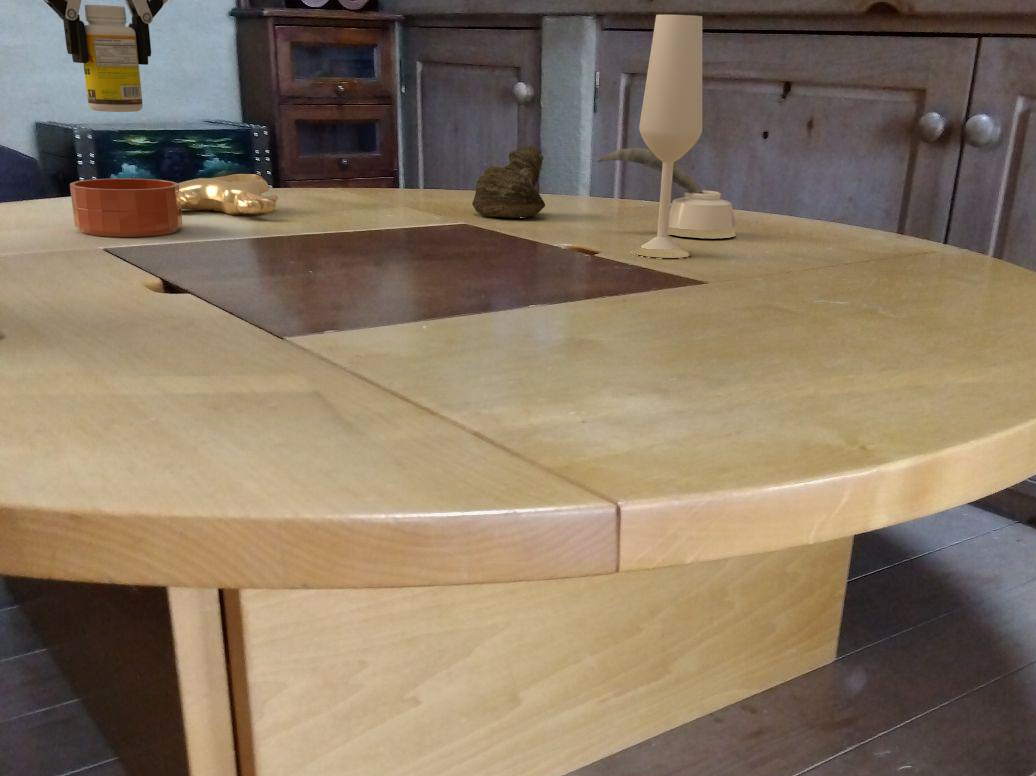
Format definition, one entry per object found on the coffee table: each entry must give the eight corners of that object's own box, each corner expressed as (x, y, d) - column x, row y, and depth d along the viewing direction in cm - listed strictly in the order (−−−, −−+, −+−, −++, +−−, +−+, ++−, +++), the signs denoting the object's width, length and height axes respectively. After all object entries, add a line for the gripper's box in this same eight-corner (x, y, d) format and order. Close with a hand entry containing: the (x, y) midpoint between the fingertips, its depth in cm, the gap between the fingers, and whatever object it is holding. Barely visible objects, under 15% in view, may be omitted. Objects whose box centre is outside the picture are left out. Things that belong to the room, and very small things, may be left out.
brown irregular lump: (575, 172, 144) (559, 163, 153) (500, 117, 139) (488, 111, 148) (525, 248, 146) (512, 234, 155) (450, 196, 142) (441, 185, 151)
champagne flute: (620, 250, 126) (634, 14, 117) (671, 248, 129) (690, 17, 119) (649, 259, 120) (667, 13, 111) (703, 257, 123) (724, 16, 114)
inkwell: (746, 240, 136) (756, 154, 132) (602, 239, 133) (607, 150, 129) (722, 229, 144) (730, 147, 140) (586, 228, 141) (590, 144, 137)
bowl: (94, 240, 119) (89, 191, 117) (62, 226, 128) (56, 180, 126) (198, 234, 126) (194, 187, 124) (161, 220, 134) (157, 177, 132)
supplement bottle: (93, 108, 123) (81, 5, 119) (146, 110, 124) (136, 7, 120) (84, 111, 118) (71, 3, 114) (139, 112, 119) (128, 6, 115)
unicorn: (320, 179, 142) (216, 199, 129) (322, 211, 144) (220, 234, 131) (211, 164, 152) (105, 182, 139) (215, 194, 154) (110, 215, 141)
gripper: (161, -120, 119) (176, 64, 127) (-13, -141, 110) (15, 60, 117) (187, -127, 114) (202, 66, 121) (8, -149, 104) (36, 62, 111)
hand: (110, 61), depth 119 cm, fingers closed on supplement bottle, 5 cm apart
